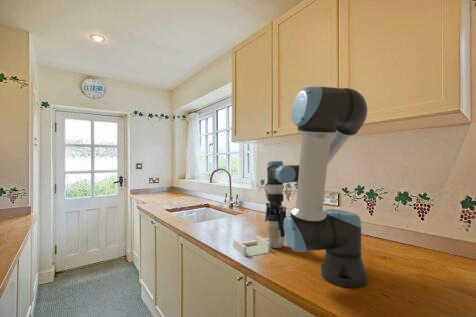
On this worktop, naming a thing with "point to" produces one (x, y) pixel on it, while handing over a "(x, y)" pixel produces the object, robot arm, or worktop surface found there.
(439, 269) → the worktop surface
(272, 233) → the coffee cup
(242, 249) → the e-shaped divided frame
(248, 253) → the pad
